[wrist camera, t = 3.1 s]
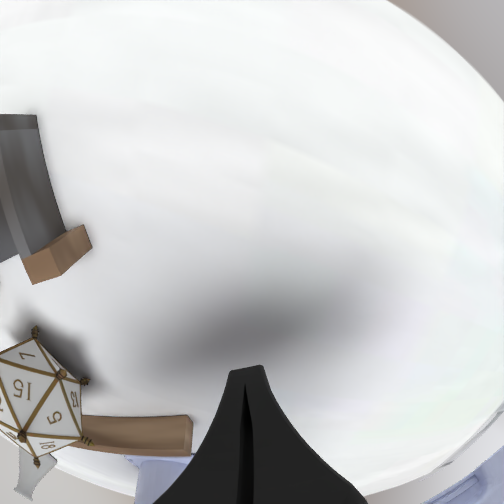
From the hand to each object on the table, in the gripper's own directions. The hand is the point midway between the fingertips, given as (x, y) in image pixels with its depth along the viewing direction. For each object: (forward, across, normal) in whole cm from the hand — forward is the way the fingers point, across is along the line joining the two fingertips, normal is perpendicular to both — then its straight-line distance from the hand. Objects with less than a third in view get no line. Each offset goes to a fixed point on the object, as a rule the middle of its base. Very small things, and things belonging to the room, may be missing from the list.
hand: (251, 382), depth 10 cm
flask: (+4, +38, +19) cm, 43 cm away
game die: (+4, +14, 0) cm, 14 cm away
